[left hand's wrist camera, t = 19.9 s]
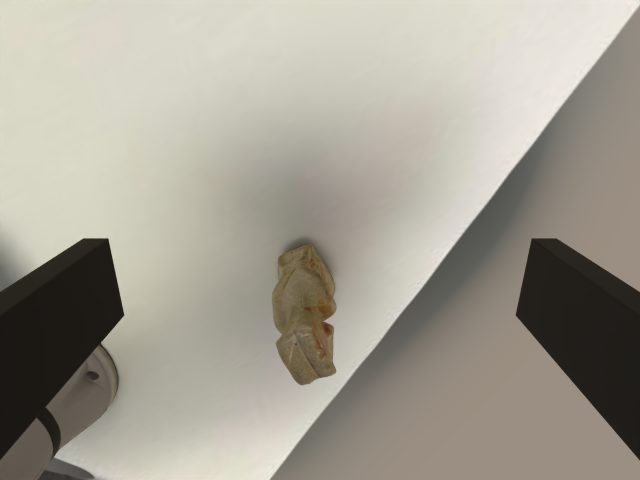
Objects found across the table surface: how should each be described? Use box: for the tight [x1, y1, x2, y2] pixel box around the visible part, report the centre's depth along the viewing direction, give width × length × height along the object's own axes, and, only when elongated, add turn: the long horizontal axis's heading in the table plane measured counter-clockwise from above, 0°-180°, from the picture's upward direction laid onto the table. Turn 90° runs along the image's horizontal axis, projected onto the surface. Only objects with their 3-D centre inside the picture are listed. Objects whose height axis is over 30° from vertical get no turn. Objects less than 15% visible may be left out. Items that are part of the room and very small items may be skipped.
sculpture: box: [272, 244, 337, 385], centre depth 37 cm, size 6×7×15 cm
